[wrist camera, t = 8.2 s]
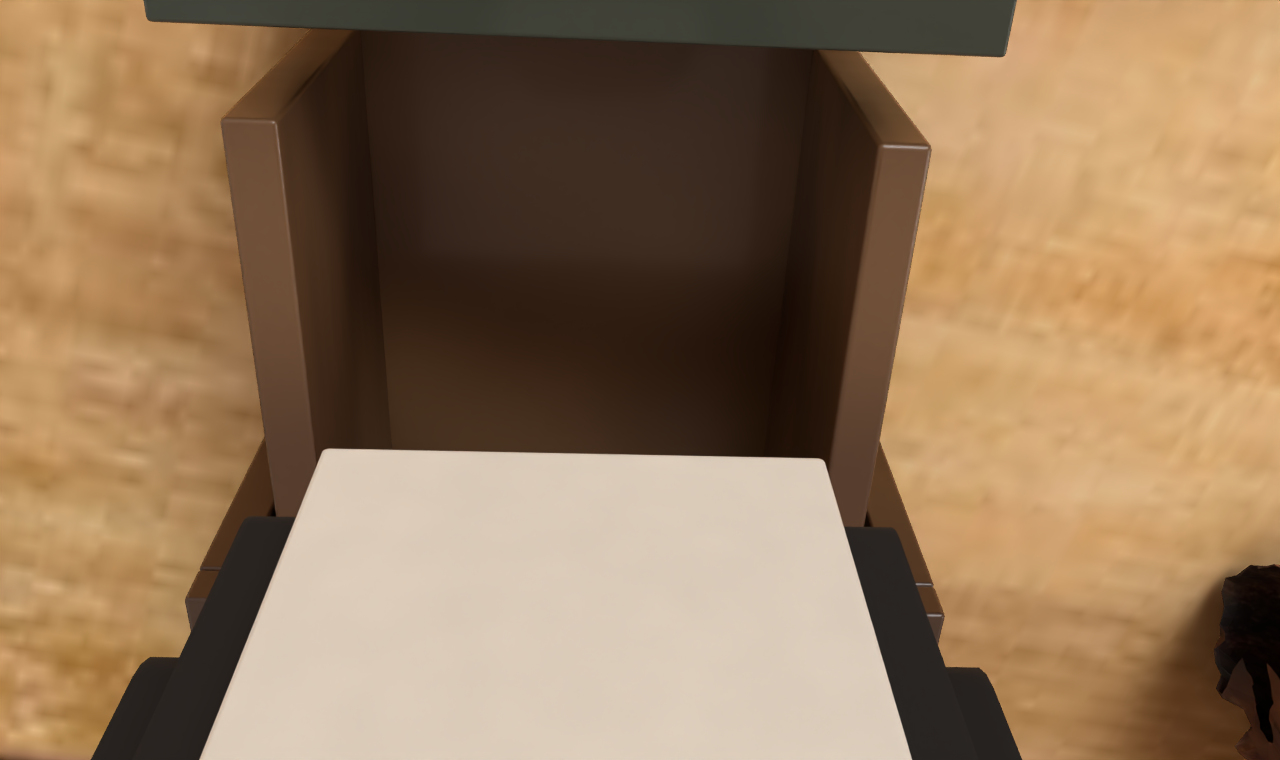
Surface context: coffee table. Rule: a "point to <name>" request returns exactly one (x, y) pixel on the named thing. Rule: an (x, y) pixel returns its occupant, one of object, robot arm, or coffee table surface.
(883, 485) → the cabinet
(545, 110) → the drawer
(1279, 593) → the driftwood
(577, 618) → the block
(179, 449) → the coffee table surface
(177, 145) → the coffee table surface
